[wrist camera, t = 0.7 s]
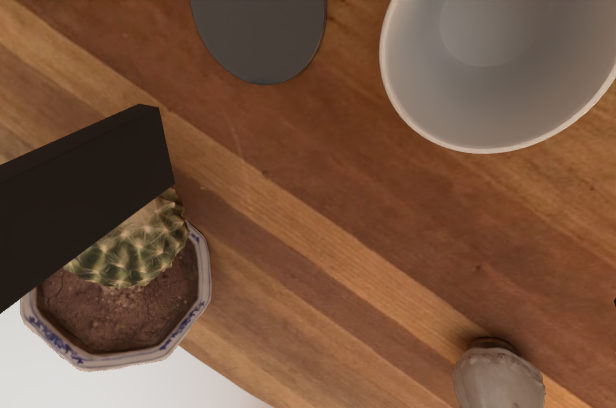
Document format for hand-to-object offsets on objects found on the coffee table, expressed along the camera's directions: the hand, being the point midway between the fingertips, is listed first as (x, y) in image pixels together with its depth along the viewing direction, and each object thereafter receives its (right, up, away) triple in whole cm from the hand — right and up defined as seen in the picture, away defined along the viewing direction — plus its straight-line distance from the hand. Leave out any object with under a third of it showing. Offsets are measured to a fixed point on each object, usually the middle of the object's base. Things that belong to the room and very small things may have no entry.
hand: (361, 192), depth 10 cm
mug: (+10, +12, +11) cm, 19 cm away
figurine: (+17, -15, +26) cm, 35 cm away
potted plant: (-16, -2, +34) cm, 37 cm away
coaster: (-5, +14, +17) cm, 23 cm away
